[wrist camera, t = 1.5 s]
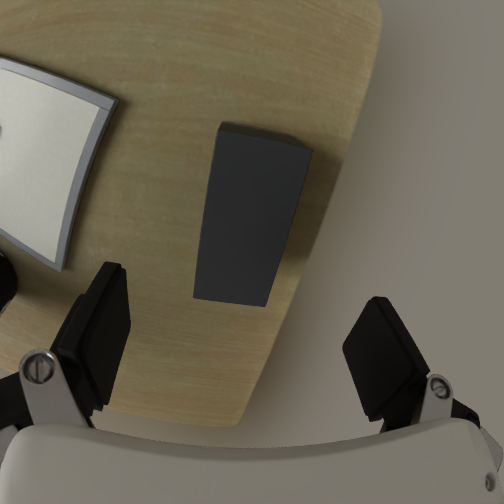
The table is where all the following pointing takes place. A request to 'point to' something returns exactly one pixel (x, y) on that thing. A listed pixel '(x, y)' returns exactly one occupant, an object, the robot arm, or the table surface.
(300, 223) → the table surface
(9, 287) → the beverage can
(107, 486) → the robot arm
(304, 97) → the table surface
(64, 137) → the whiteboard
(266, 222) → the whiteboard eraser
